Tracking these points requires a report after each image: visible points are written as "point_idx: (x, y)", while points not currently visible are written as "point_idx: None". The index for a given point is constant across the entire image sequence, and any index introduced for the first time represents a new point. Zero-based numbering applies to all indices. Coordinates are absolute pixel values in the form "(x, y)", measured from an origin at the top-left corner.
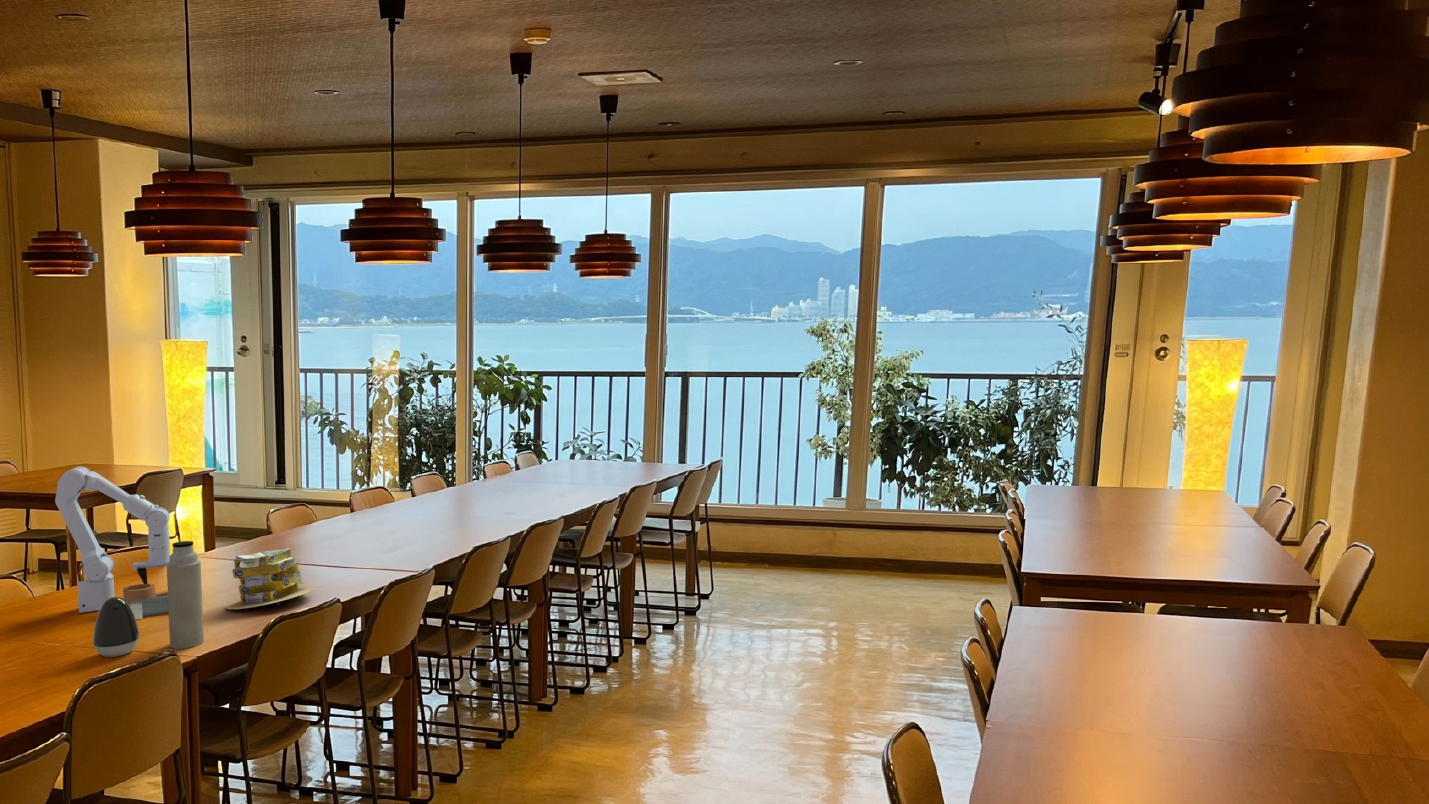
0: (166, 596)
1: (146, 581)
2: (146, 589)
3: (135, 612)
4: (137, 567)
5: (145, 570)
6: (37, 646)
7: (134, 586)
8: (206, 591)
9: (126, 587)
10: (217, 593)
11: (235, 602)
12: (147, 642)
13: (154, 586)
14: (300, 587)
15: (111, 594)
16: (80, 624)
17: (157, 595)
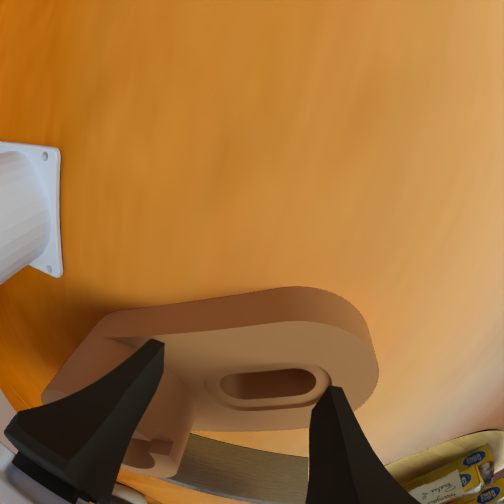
0: (211, 493)
1: (127, 435)
2: (141, 473)
3: None
4: (24, 482)
5: (91, 495)
6: (19, 402)
7: None
8: (493, 289)
9: (47, 397)
10: (479, 356)
11: (400, 465)
12: (163, 495)
13: (174, 473)
14: (499, 461)
15: (6, 276)
16: (25, 356)
17: (221, 365)
